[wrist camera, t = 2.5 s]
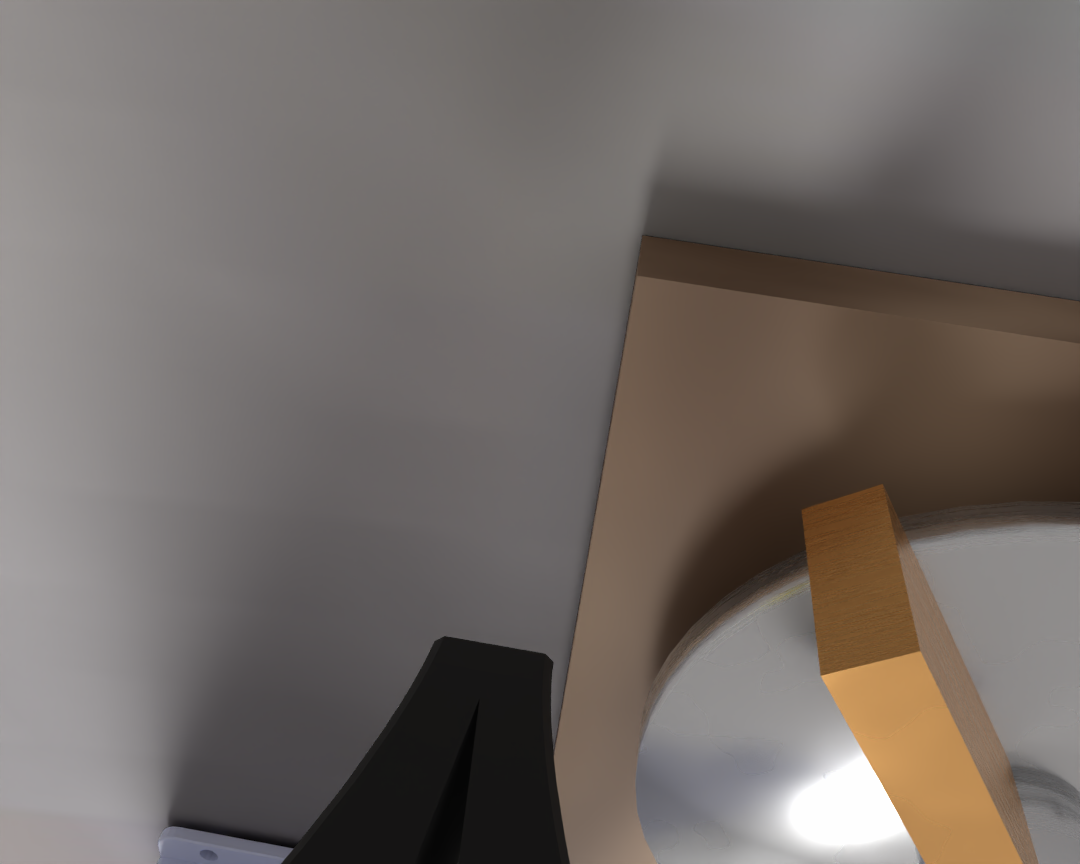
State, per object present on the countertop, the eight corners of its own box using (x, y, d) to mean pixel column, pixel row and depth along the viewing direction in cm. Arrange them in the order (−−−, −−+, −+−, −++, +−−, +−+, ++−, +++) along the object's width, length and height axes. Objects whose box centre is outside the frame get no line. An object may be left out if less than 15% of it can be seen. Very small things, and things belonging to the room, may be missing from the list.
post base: (540, 832, 26) (505, 1058, 22) (642, 235, 17) (616, 423, 12) (1162, 948, 26) (1258, 1207, 21) (1663, 389, 16) (2042, 653, 11)
